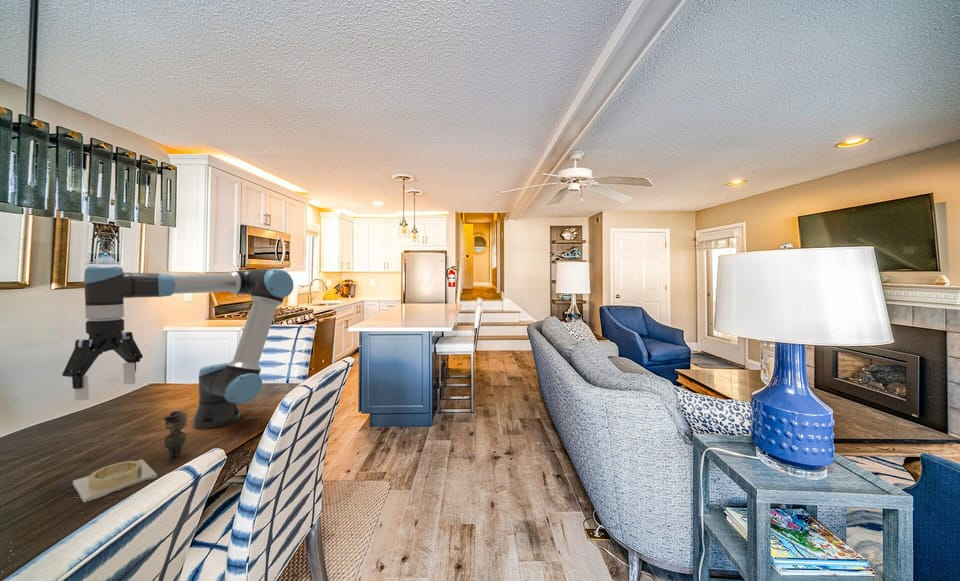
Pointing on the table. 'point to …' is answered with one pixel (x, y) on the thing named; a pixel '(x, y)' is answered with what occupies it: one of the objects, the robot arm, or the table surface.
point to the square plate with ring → (112, 479)
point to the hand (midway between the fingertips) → (107, 391)
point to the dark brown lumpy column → (175, 432)
